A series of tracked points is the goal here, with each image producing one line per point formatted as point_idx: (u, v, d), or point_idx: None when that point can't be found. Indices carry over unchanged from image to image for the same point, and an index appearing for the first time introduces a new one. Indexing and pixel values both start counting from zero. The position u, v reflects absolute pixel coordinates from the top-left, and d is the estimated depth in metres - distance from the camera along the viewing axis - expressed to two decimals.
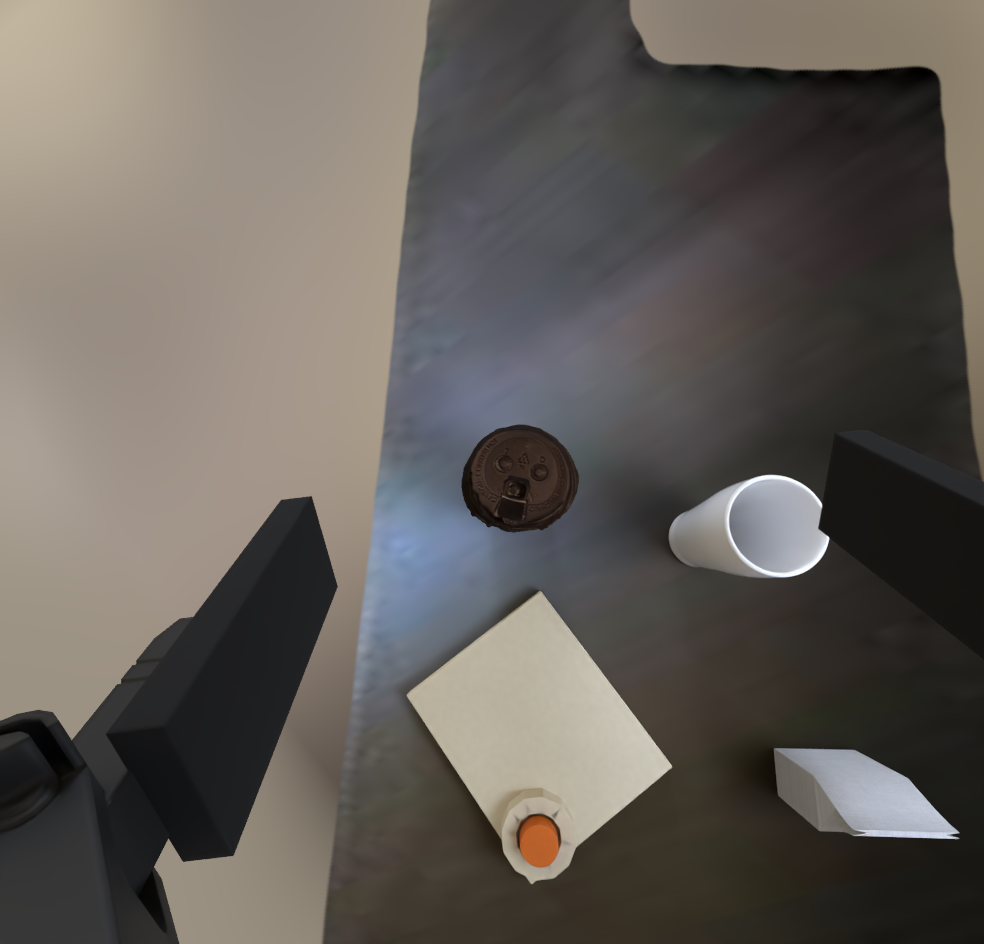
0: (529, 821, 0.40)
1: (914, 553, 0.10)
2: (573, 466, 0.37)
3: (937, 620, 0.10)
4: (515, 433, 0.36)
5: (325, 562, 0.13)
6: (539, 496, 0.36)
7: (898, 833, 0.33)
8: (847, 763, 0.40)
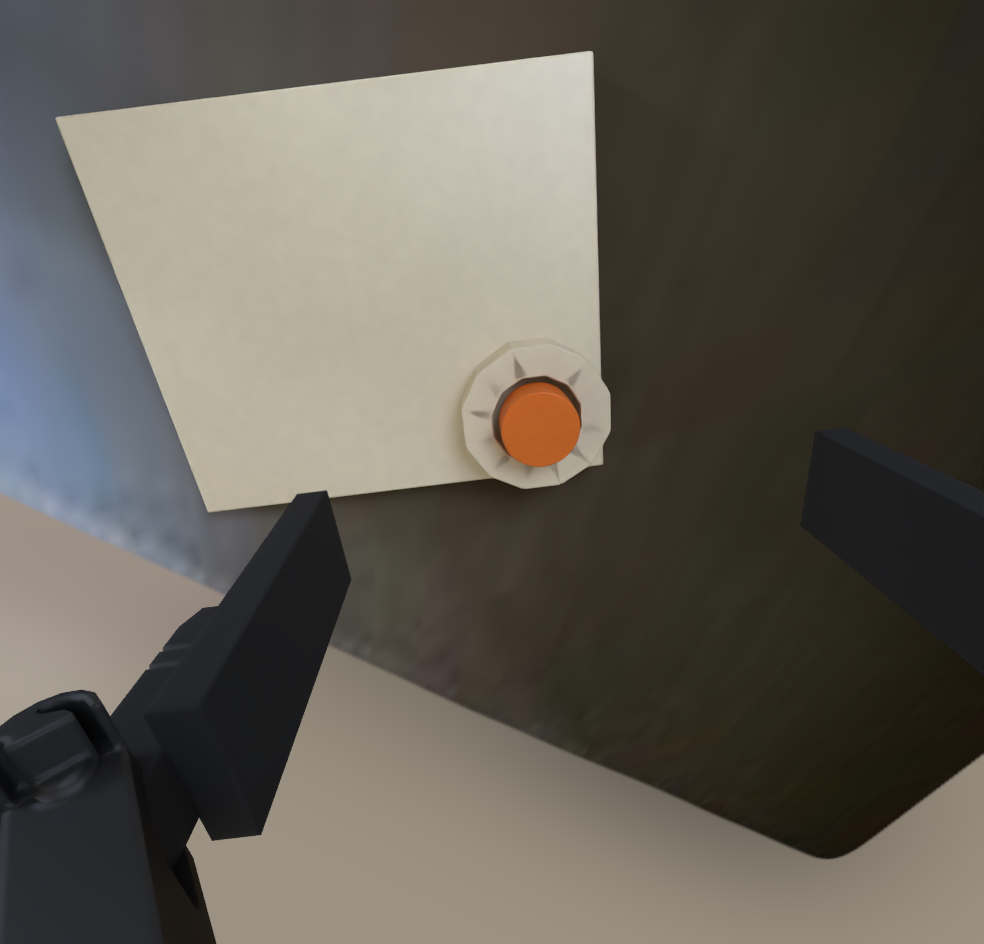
0: (499, 422, 0.20)
1: (889, 548, 0.10)
2: None
3: (911, 613, 0.10)
4: None
5: (340, 555, 0.13)
6: None
7: None
8: None
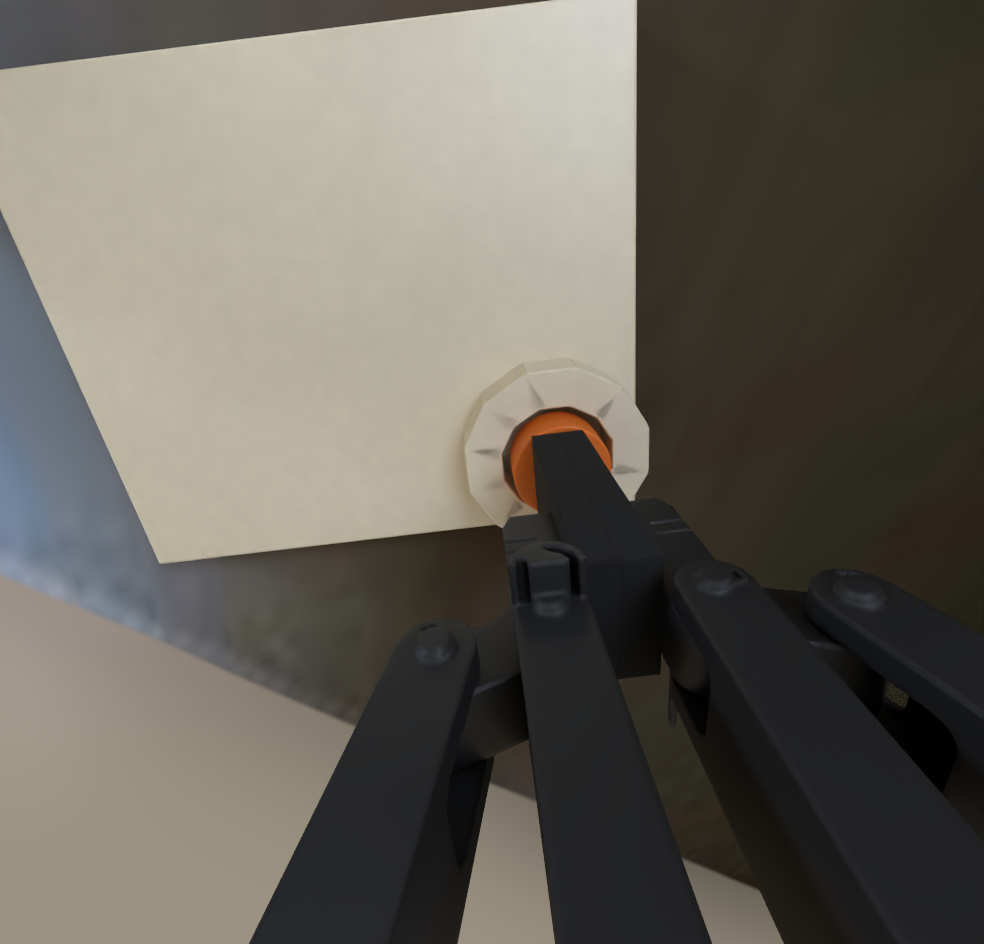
0: (511, 461, 0.16)
1: None
2: None
3: None
4: None
5: None
6: None
7: None
8: None
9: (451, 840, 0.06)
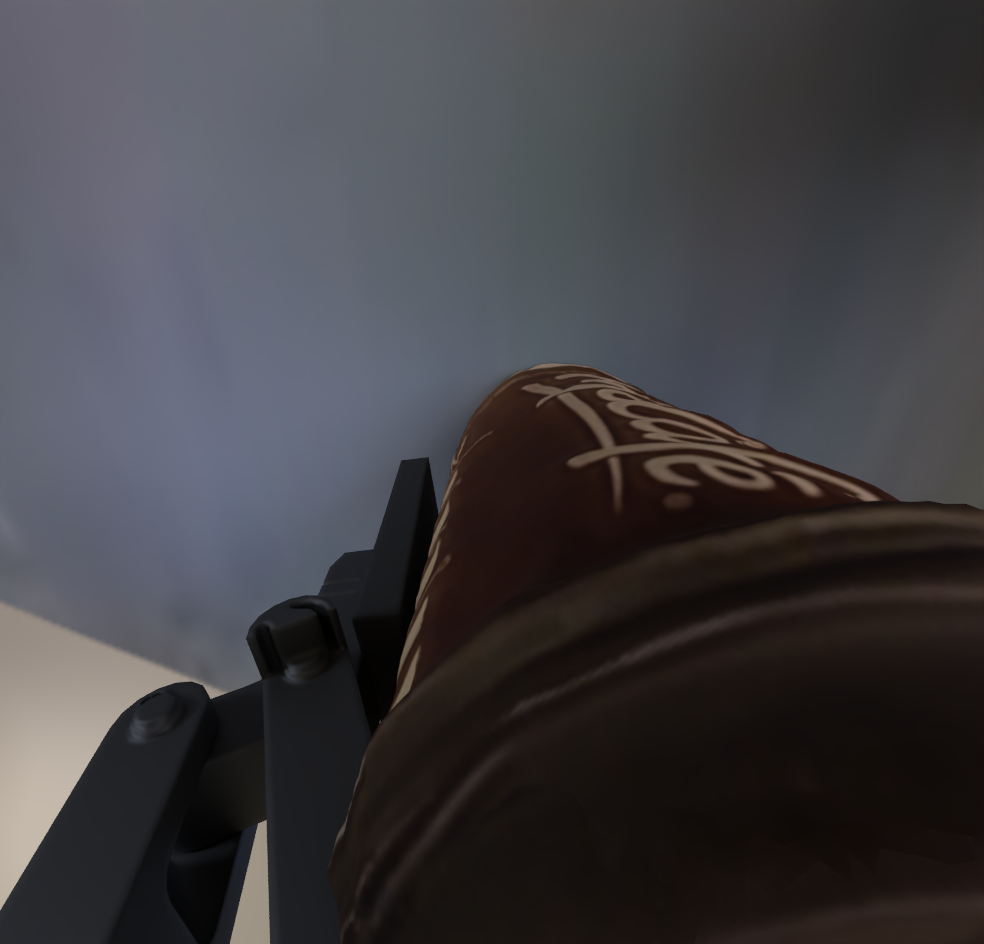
0: None
1: None
2: None
3: None
4: None
5: (437, 517, 0.14)
6: None
7: None
8: None
9: (181, 924, 0.05)
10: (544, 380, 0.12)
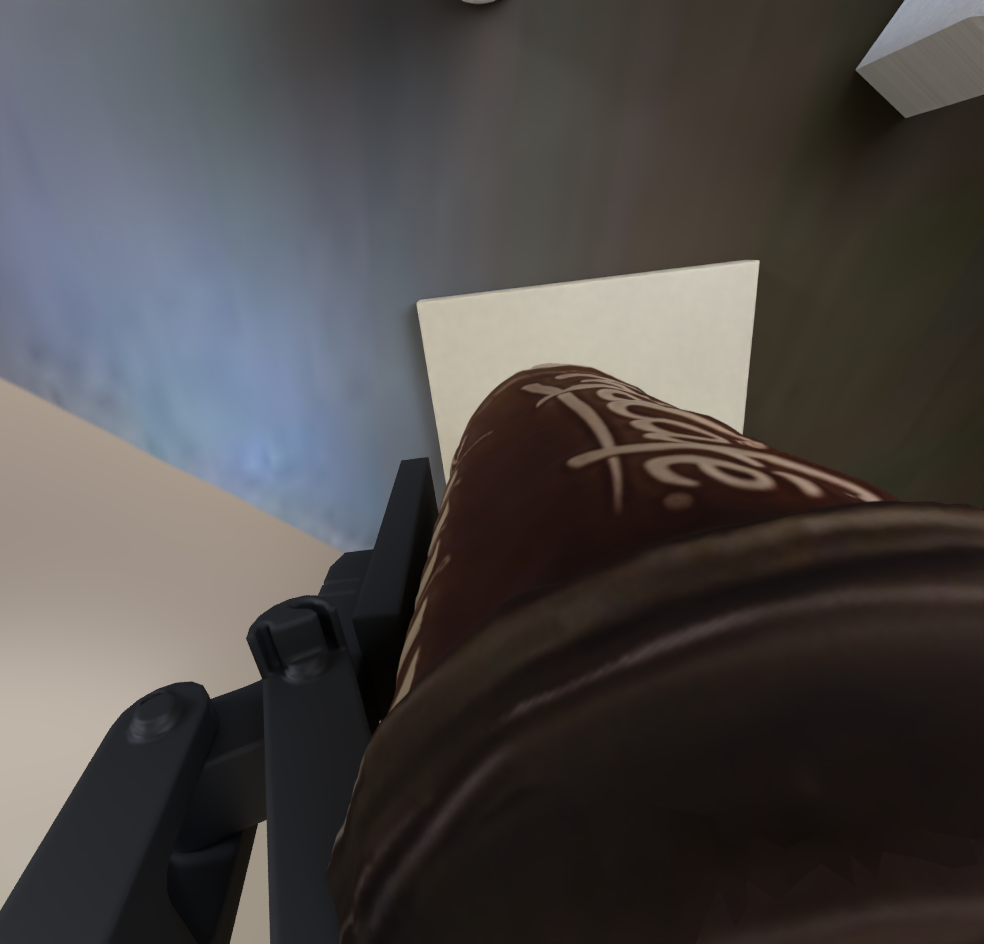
0: None
1: None
2: None
3: None
4: None
5: (437, 517, 0.14)
6: None
7: None
8: None
9: (181, 924, 0.05)
10: (544, 380, 0.12)
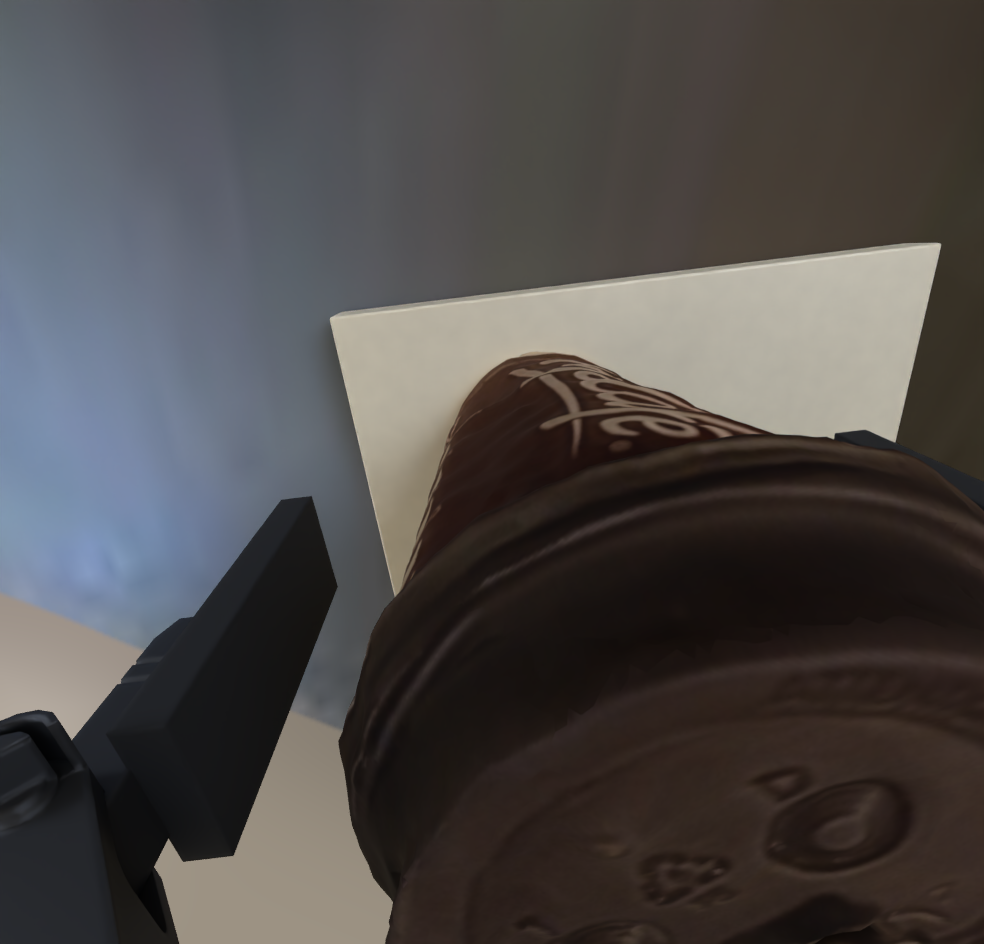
0: None
1: None
2: (900, 495, 0.05)
3: None
4: (457, 849, 0.04)
5: (325, 562, 0.13)
6: (964, 881, 0.05)
7: None
8: None
9: None
10: (529, 365, 0.13)
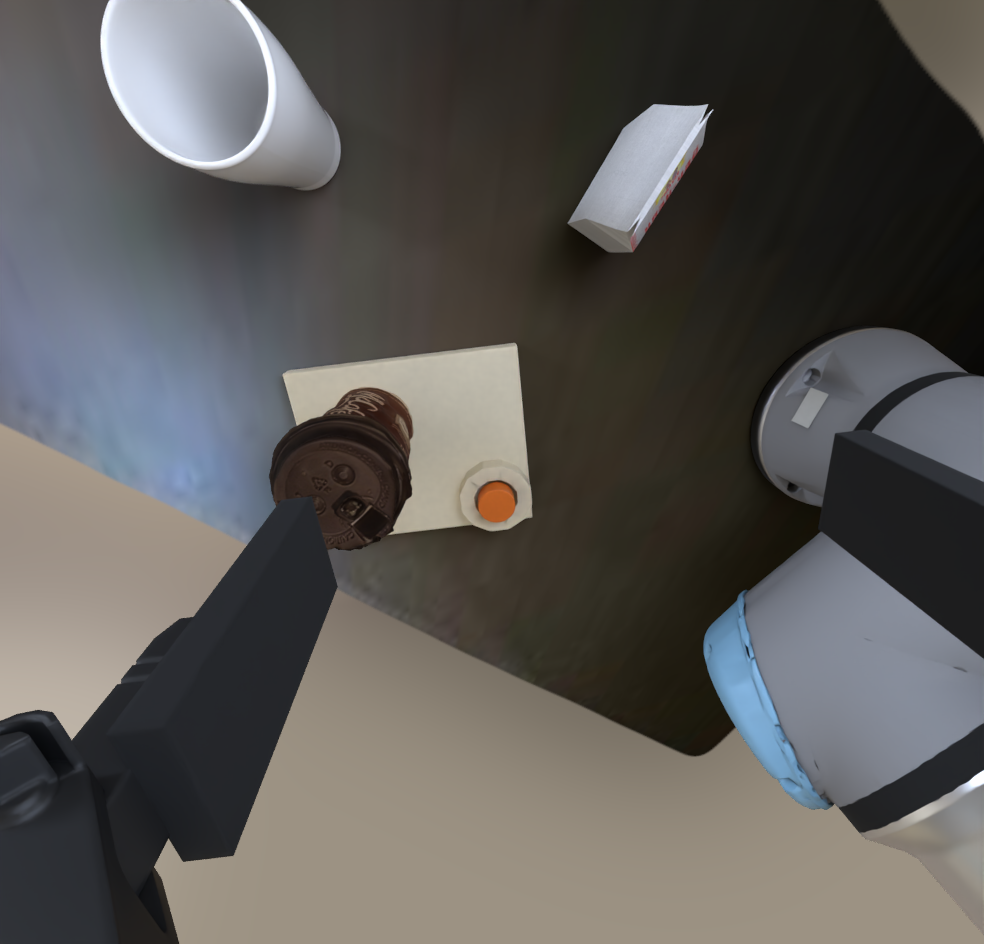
0: (478, 501, 0.41)
1: (914, 553, 0.10)
2: (356, 423, 0.28)
3: (937, 620, 0.10)
4: (282, 475, 0.28)
5: (325, 562, 0.13)
6: (372, 489, 0.28)
7: (662, 181, 0.26)
8: (613, 158, 0.32)
9: None
10: (353, 393, 0.37)
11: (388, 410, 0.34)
